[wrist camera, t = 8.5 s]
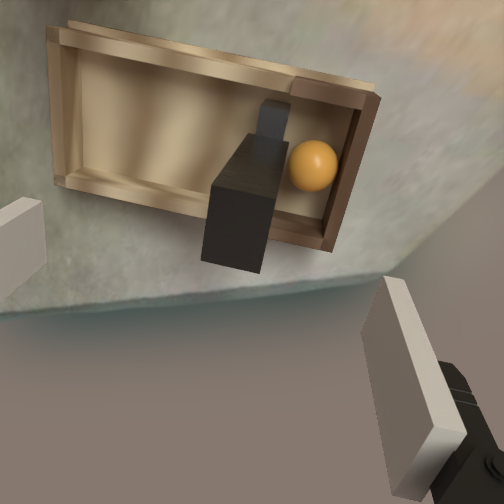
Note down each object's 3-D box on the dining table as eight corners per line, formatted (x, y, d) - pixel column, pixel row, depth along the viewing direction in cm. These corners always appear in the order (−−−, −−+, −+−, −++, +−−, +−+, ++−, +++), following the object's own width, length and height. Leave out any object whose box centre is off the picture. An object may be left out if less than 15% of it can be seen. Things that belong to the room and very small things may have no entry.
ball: (283, 177, 34) (280, 193, 31) (293, 130, 32) (292, 141, 29) (329, 187, 34) (331, 204, 31) (342, 140, 32) (347, 152, 29)
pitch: (78, 177, 38) (48, 194, 33) (74, 20, 32) (36, 16, 27) (328, 232, 37) (330, 258, 33) (373, 83, 31) (383, 90, 27)
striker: (242, 193, 35) (196, 293, 21) (260, 97, 31) (217, 140, 17) (276, 200, 35) (252, 306, 21) (297, 104, 31) (286, 155, 17)
